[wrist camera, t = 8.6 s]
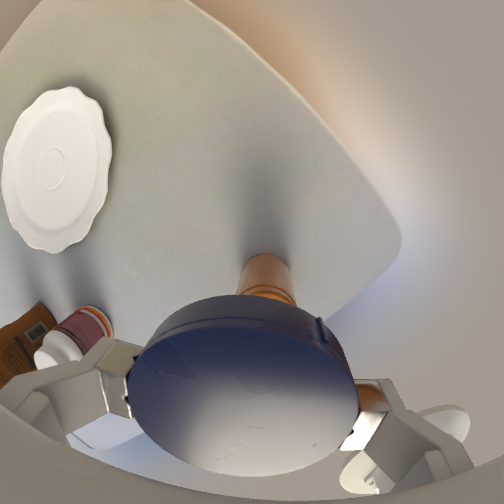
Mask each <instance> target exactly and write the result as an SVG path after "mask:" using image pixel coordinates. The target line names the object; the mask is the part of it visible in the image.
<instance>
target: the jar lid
mask: <svg viewBox="0 0 504 504" xmlns="http://www.w3.org/2000/svg"><path fill="white" fill-rule="evenodd" d="M127 390H128V395H127V396H128V401H129V404H130V407H131V411H132V413H133V415H134V417H135V419H136V421H137V422H138V424H139V425H140V427H141V428H142V429H143V431H144V432H145V433H146V434H147V435H148V436H149V437H150V438H151V439H152V440H153V441H154V442H155V443H156V444H157V445H159V446H160V447H161V448H162V449H164V450H165V451H167V452H168V453H170V454H171V455H173V456H175V457H177V458H178V459H180V460H182V461H184V462H186V463H189V464H191V465H193V466H196V467H199V468H201V469H204V470H208V471H212V472H215V473H221V474H226V475H232V476H243V477H261V476H271V475H279V474H284V473H289V472H292V471H296V470H299V469H302V468H304V467H307V466H310V465H312V464H314V463H316V462H318V461H320V460H322V459H323V458H325V457H326V456H328V455H329V454H331V453H332V452H333V451H334V450H336V449H337V448H338V447H339V446H340V445H341V444H342V443H343V442H344V440H345V439H346V437H347V436H349V434H350V433H351V431H352V429H353V428H352V427H353V426H354V424H355V422H356V420H357V417H358V413H359V396H358V391H357V388H356V385H355V382H354V379H353V377H352V374H351V371H350V368H349V366H348V363H347V360H346V357H345V354H344V352H343V349H342V347H341V345H340V343H339V342H338V340H337V338H336V337H335V336H334V335H333V333H332V332H331V331H330V330H329V329H328V328H327V327H326V326H325V325H324V324H323V321H322V318H320V317H318V318H315V317H314V316H312V315H311V314H309V313H308V312H306V311H304V310H302V309H300V308H298V307H296V306H294V305H291V304H288V303H286V302H283V301H280V300H277V299H272V298H267V297H263V296H256V295H224V296H217V297H211V298H207V299H203V300H199V301H197V302H194V303H192V304H189V305H187V306H185V307H183V308H181V309H180V310H178V311H176V312H174V313H173V314H172V315H171V316H169V317H168V318H167V319H166V320H165V321H164V322H163V323H162V324H161V325H160V326H159V327H158V328H157V330H156V331H155V333H154V334H153V336H152V337H151V339H150V340H149V342H148V343H147V345H146V346H145V348H144V349H143V351H142V352H141V354H140V355H139V357H138V358H137V360H136V361H135V363H134V365H133V366H132V368H131V371H130V374H129V377H128V383H127Z"/></svg>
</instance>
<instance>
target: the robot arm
mask: <svg viewBox="0 0 504 504" xmlns="http://www.w3.org/2000/svg"><path fill="white" fill-rule="evenodd" d="M144 348H145V347H141V346H138V345H135V344H131V343H128V342H125V341H122V340H118V339H115V338H112V337H109V336H103V337H102V338H101V339H100V340H99V341H98V342H97V343H96V344H95V345H94V346H93V347H92V348H91V349H90V350H89V351H88V352H87V353H86V354H85V356H84V357H83V358H82V359H81V360H80V361H77V360H73V361H69V362H66V363H62V364H59V365H55V366H51V367H47V368H44V369H40V370H36V371H32V372H28V373H24V374H20V375H16V376H14V377H13V378H12V379H11V380H10V381H9V382H8V383H7V384H6V385H5V386H4V387H3V388H2V389H0V504H504V455H502V456H500V457H498V458H496V459H494V460H492V461H490V462H487V463H485V464H483V465H480V466H478V467H474V465H473V463H472V461H471V460H470V458H469V456H468V454H467V452H466V450H465V449H464V447H463V445H462V443H461V442H460V441H458V440H457V439H455V438H453V436H452V434H447V433H445V432H444V431H442V430H441V429H439V428H437V427H436V426H434V425H433V424H431V423H430V422H428V421H427V420H425V419H423V418H422V417H420V416H419V415H417V414H416V413H414V412H413V411H411V410H406V408H405V406H404V404H403V402H402V401H401V398H400V396H399V394H398V393H397V391H396V389H395V387H394V385H393V383H392V381H391V380H389V379H374V380H373V379H372V380H371V379H354V382H355V385H356V388H357V391H358V396H359V413H358V417H357V420H356V422H355V424H354V426H353V427H352V428H353V429H352V431H351V433H350V434H349V436H347V437H346V439H345V440H344V442H343V443H342V444H341V445H340V446H339V447H338V448H339V450H363V451H364V452H365V453H366V454H367V455H368V456H369V457H370V458H371V459H372V460H373V461H374V462H375V464H376V465H377V467H376V468H375V470H374V471H373V472H372V473H371V474H369V475H368V476H367V477H366V478H365V479H364V482H365V484H367V485H369V486H371V487H374V488H376V491H377V494H378V495H373V496H365V497H358V498H348V499H337V500H320V501H277V500H261V499H249V498H239V497H232V496H224V495H218V494H212V493H206V492H201V491H196V490H191V489H187V488H182V487H178V486H174V485H170V484H166V483H163V482H159V481H155V480H152V479H149V478H146V477H143V476H140V475H137V474H134V473H131V472H128V471H125V470H122V469H120V468H117V467H114V466H112V465H109V464H107V463H104V462H102V461H100V460H97V459H95V458H93V457H90V456H88V455H86V454H84V453H82V452H80V451H77V450H76V449H74V448H72V447H71V446H70V444H69V442H68V440H67V438H66V436H65V435H67V434H69V433H71V432H73V431H75V430H77V429H79V428H81V427H83V426H85V425H87V424H88V423H90V422H92V421H94V420H96V419H98V418H99V417H101V416H103V415H105V414H107V413H108V412H110V413H113V414H116V415H119V416H122V417H125V418H128V419H133V417H134V415H133V413H132V411H131V407H130V404H129V401H128V396H127V395H128V390H127V383H128V377H129V374H130V371H131V368H132V366H133V365H134V363H135V361H136V360H137V358H138V357H139V355H140V354H141V352H142V351H143V349H144Z"/></svg>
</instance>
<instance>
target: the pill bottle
mask: <svg viewBox="0 0 504 504" xmlns="http://www.w3.org/2000/svg"><path fill="white" fill-rule="evenodd" d="M103 336H109V337H112V338H113V330H112V326H111V323H110V321H109V320H108V318H107V317H106V315H105V314H104V313H103V312H102V311H101V310H99V309H98V308H96V307H93V306H83V307H81V308H79V309H78V310H77V311H75V312H74V313H73V314H71V315H70V316H69V317H67V318H66V319H65V320H64V321H62V322H61V323H60V324H59V325H57V326H56V327H55V328H53V329H52V330H51V331H50V332H49V333H47V334H46V335H45V337H44V340H43V346H42V347H40V348H39V349H38V350H37V351H36V352H35V354H34V361H35V364H36V367H37V368H38V370H40V369H44V368H47V367H51V366H55V365H59V364H62V363H66V362H69V361H73V360H77V361H80V360H81V359H82V358H83V357H84V356H85V354H86V353H87V352H88V351H89V350H90V349H91V348H92V347H93V346H94V345H95V344H96V343H97V342H98V341H99V340H100V339H101V338H102V337H103Z"/></svg>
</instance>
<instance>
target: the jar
mask: <svg viewBox="0 0 504 504" xmlns="http://www.w3.org/2000/svg"><path fill="white" fill-rule="evenodd" d="M236 295H256V296H263V297H267V298H272V299H277V300H280V301H283V302H286V303H288V304H291V305H294V306H296V307H297V304H296V300H295V295H294V290H293V286H292V281H291V276H290V272H289V269H288V266H287V265H286V263H285V262H284V261H283V260H282V259H281V258H279V257H277V256H275V255H272V254H260V255H257V256H255V257H253V258H251V259H250V260H249V261H248V262H247V263H246V265H245V266H244V268H243V271H242V275H241V278H240V282H239V285H238V289H237V292H236Z"/></svg>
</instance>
